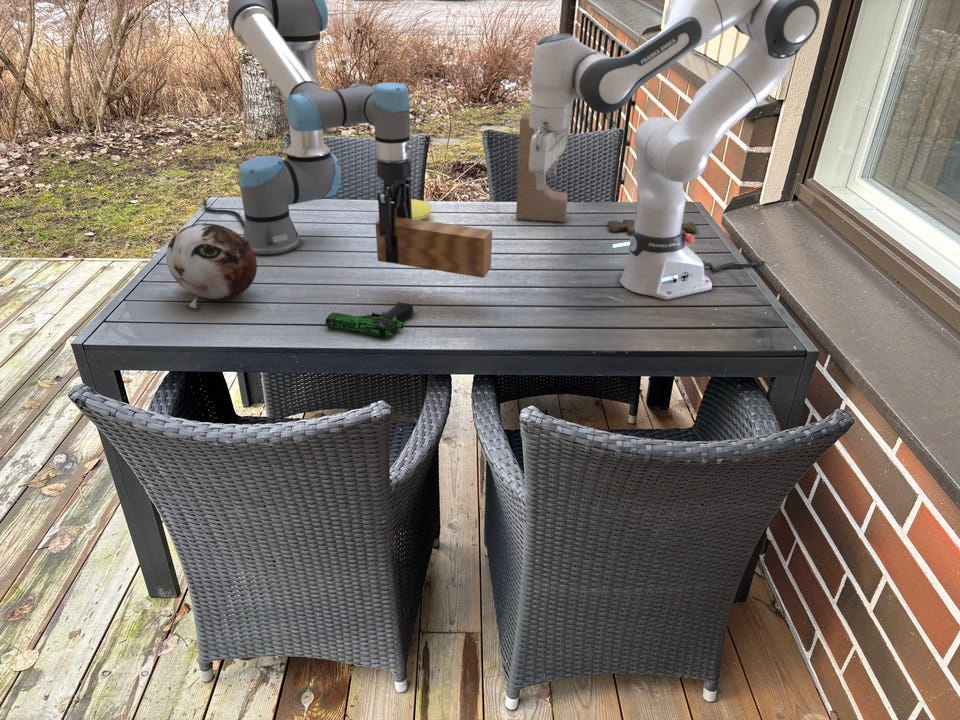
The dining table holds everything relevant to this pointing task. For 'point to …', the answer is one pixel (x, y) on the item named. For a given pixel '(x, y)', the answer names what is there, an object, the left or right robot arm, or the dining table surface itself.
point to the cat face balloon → (211, 261)
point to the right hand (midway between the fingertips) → (546, 182)
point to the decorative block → (528, 196)
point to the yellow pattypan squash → (419, 209)
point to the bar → (440, 247)
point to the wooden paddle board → (628, 225)
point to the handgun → (373, 321)
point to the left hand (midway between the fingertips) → (397, 256)
